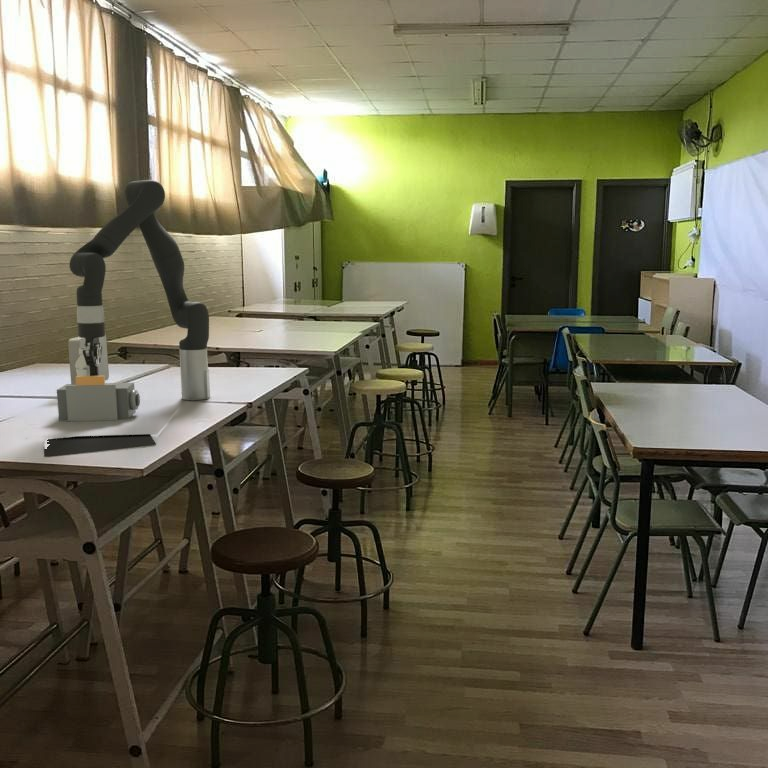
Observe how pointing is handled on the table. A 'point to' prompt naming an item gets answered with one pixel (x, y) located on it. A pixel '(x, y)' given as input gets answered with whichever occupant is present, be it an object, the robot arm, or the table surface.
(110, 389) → the side door
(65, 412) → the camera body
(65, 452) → the tablet
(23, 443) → the table surface
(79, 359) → the plastic bottle
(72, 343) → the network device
